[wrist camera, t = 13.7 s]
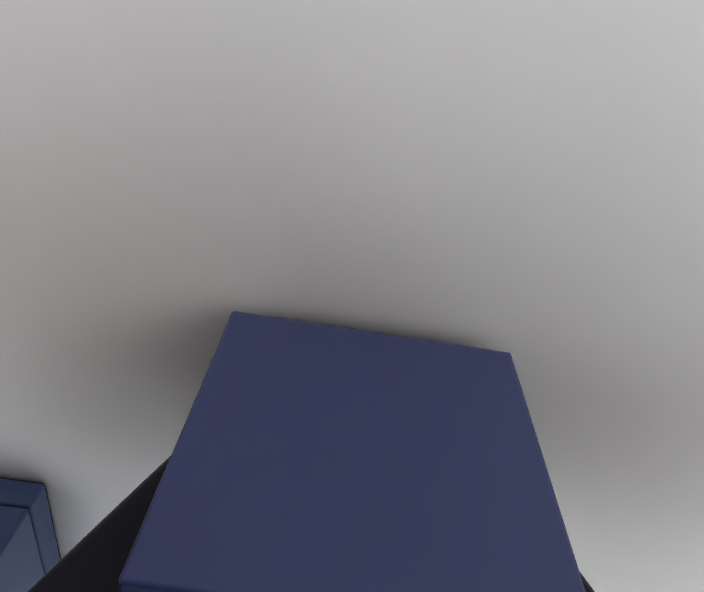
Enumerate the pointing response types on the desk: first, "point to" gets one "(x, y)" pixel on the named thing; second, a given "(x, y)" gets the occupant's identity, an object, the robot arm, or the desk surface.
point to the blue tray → (25, 535)
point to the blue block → (353, 472)
